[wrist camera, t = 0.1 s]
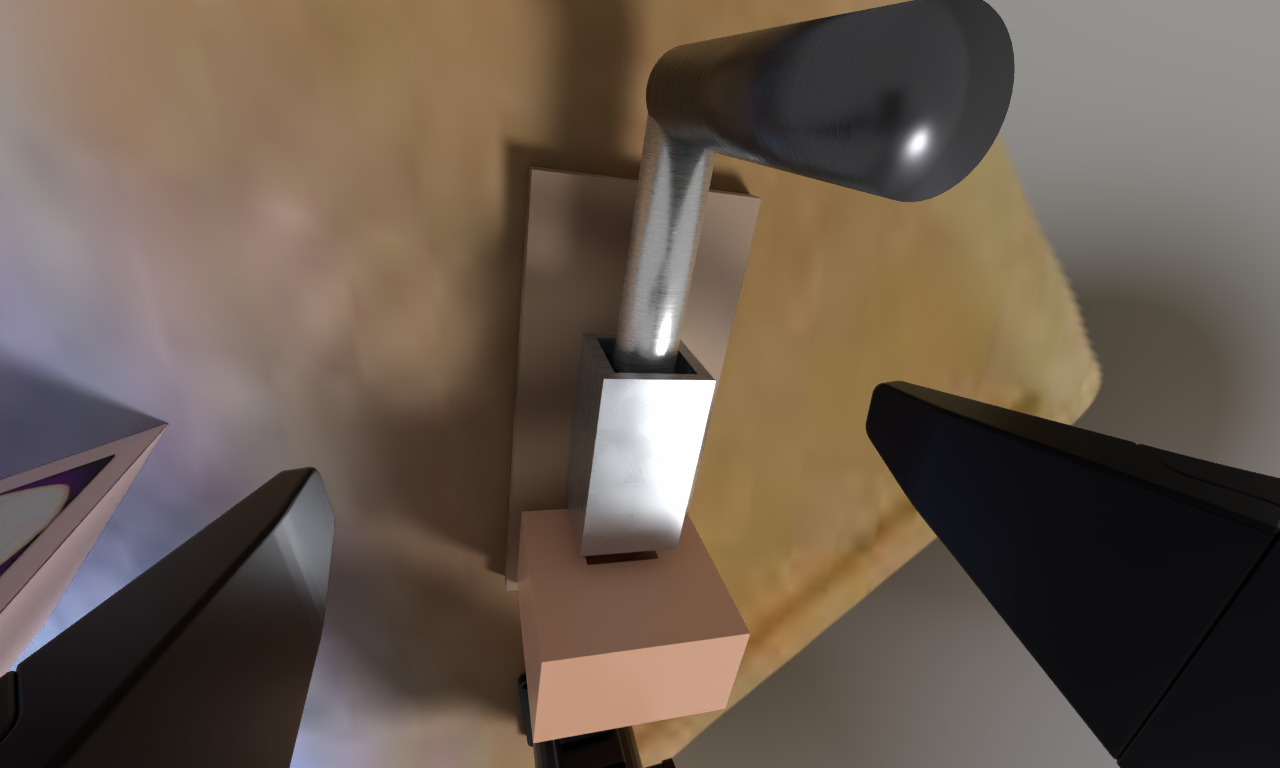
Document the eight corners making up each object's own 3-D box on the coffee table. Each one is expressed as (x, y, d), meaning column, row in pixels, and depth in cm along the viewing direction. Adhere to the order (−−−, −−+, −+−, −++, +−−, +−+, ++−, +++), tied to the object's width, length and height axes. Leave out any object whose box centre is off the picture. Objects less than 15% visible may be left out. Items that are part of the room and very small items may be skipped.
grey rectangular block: (649, 488, 27) (677, 548, 24) (564, 492, 26) (580, 556, 23) (678, 336, 24) (715, 380, 20) (582, 332, 23) (603, 379, 19)
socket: (667, 568, 30) (725, 708, 24) (516, 583, 28) (533, 743, 21) (681, 502, 28) (749, 633, 22) (521, 511, 26) (541, 662, 19)
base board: (668, 561, 32) (674, 574, 31) (504, 576, 29) (505, 591, 28) (750, 194, 23) (761, 198, 22) (529, 165, 20) (531, 169, 19)
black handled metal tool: (646, 464, 26) (769, 720, 15) (587, 466, 25) (674, 739, 14) (722, 55, 19) (1044, 15, 8) (642, 38, 18) (889, -29, 7)
